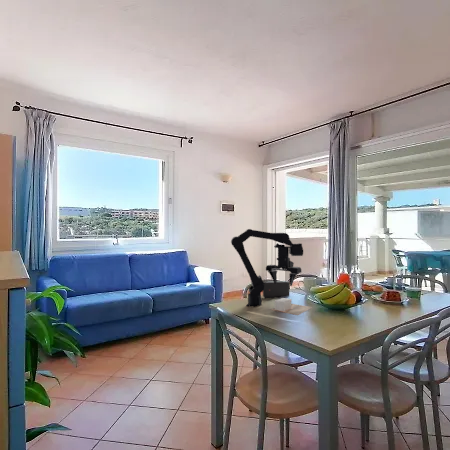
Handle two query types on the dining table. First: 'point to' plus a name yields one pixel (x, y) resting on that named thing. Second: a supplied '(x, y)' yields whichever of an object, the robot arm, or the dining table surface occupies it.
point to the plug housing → (283, 304)
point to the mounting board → (295, 309)
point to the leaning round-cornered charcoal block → (276, 289)
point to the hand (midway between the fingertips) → (283, 284)
